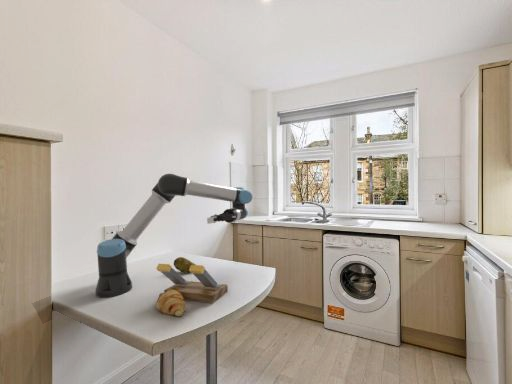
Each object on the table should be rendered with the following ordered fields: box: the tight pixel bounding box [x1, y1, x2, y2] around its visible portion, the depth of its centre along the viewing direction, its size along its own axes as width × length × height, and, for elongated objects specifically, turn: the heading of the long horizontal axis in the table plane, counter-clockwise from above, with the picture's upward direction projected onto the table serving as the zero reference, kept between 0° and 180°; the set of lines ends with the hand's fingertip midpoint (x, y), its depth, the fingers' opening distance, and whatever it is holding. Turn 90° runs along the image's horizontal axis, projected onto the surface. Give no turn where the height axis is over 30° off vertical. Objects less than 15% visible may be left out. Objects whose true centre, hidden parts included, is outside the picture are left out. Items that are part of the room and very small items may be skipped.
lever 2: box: [189, 264, 220, 288], centre depth 105 cm, size 2×6×15 cm
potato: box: [173, 256, 196, 274], centre depth 146 cm, size 8×13×8 cm, turn 51°
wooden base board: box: [163, 280, 228, 304], centre depth 113 cm, size 12×24×3 cm, turn 68°
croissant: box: [155, 290, 186, 317], centre depth 100 cm, size 21×10×8 cm, turn 39°
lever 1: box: [155, 263, 189, 285], centre depth 111 cm, size 2×6×15 cm
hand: (208, 220), depth 126 cm, fingers closed
